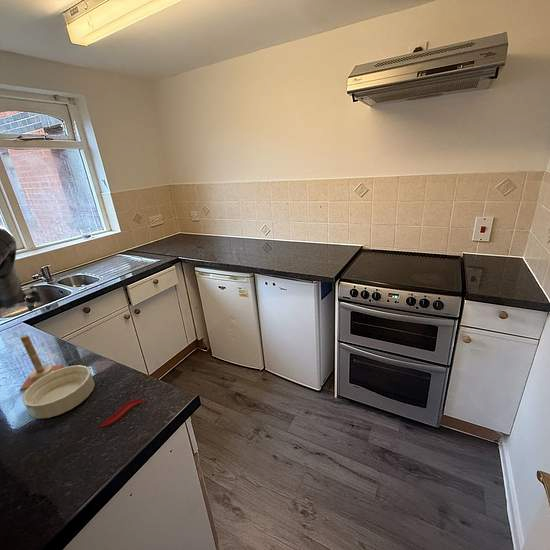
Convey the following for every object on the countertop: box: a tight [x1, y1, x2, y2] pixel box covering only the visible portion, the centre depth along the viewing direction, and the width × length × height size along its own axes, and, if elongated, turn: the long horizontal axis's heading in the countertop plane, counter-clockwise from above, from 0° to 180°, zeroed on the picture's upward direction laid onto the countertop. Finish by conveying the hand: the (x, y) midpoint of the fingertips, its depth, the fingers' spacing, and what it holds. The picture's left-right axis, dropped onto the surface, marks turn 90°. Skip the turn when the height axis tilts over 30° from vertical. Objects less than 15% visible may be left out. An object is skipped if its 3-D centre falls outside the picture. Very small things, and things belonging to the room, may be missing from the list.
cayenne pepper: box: [98, 398, 147, 428], centre depth 79 cm, size 12×5×2 cm, turn 124°
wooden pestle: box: [19, 334, 53, 382], centre depth 94 cm, size 6×6×15 cm
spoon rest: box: [19, 363, 64, 391], centre depth 97 cm, size 9×9×1 cm
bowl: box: [21, 364, 96, 420], centre depth 86 cm, size 16×16×5 cm
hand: (12, 314), depth 87 cm, fingers open, 8 cm apart
